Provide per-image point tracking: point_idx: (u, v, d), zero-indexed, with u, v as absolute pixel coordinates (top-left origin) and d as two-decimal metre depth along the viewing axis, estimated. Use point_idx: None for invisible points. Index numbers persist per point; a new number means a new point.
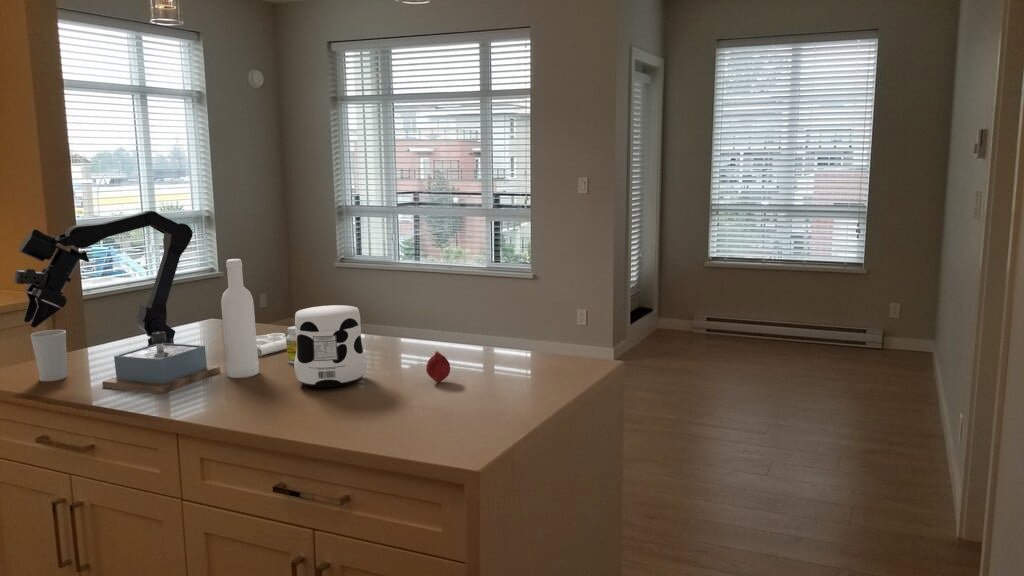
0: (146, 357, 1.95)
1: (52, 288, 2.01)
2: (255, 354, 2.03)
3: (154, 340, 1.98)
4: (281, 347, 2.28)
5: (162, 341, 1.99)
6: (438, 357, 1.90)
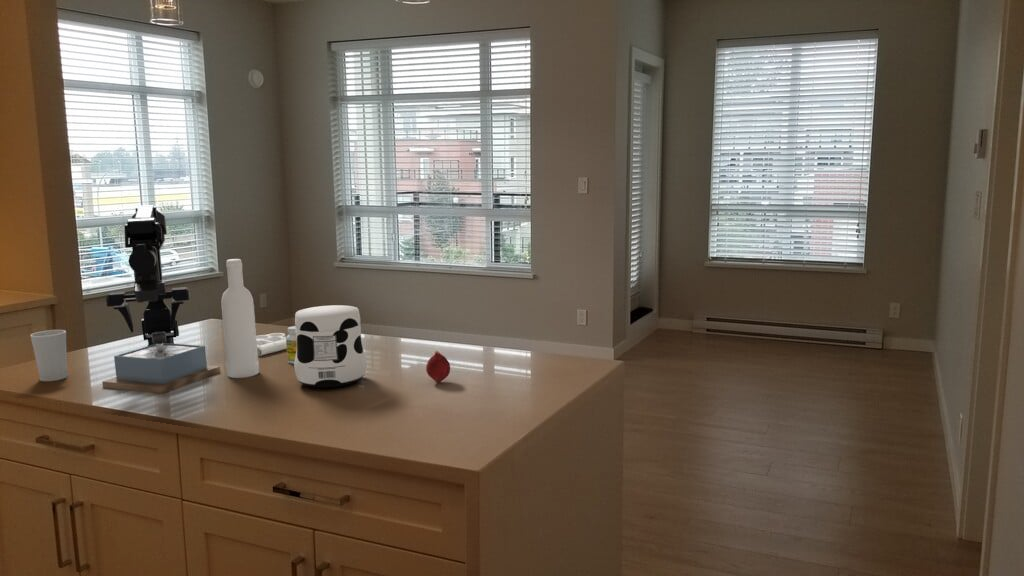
0: (146, 357, 1.95)
1: None
2: (255, 354, 2.03)
3: (154, 340, 1.98)
4: (281, 347, 2.28)
5: (162, 341, 1.99)
6: (438, 357, 1.90)
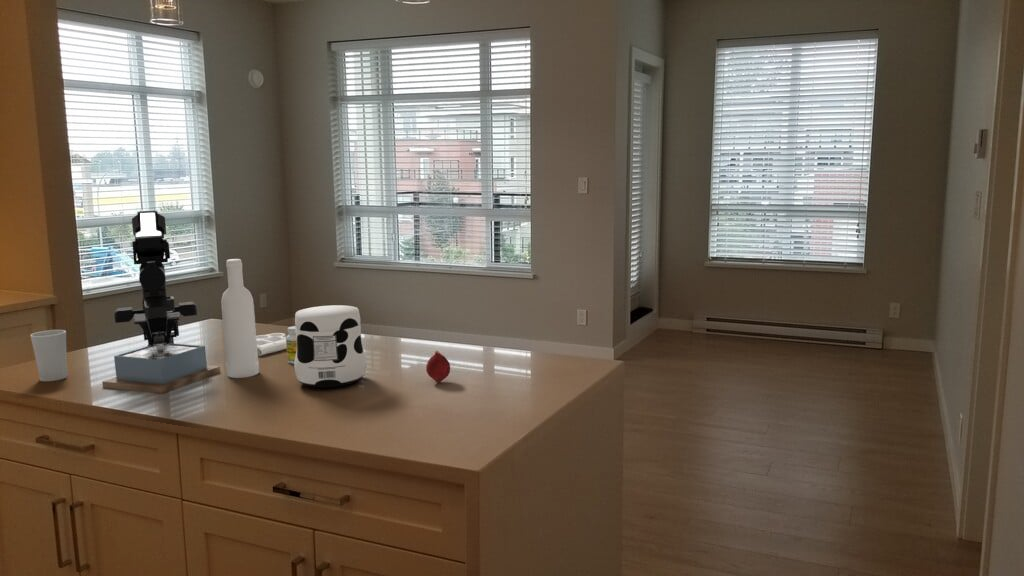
0: (146, 357, 1.95)
1: None
2: (255, 354, 2.03)
3: (154, 340, 1.98)
4: (281, 347, 2.28)
5: (162, 341, 1.99)
6: (438, 357, 1.90)
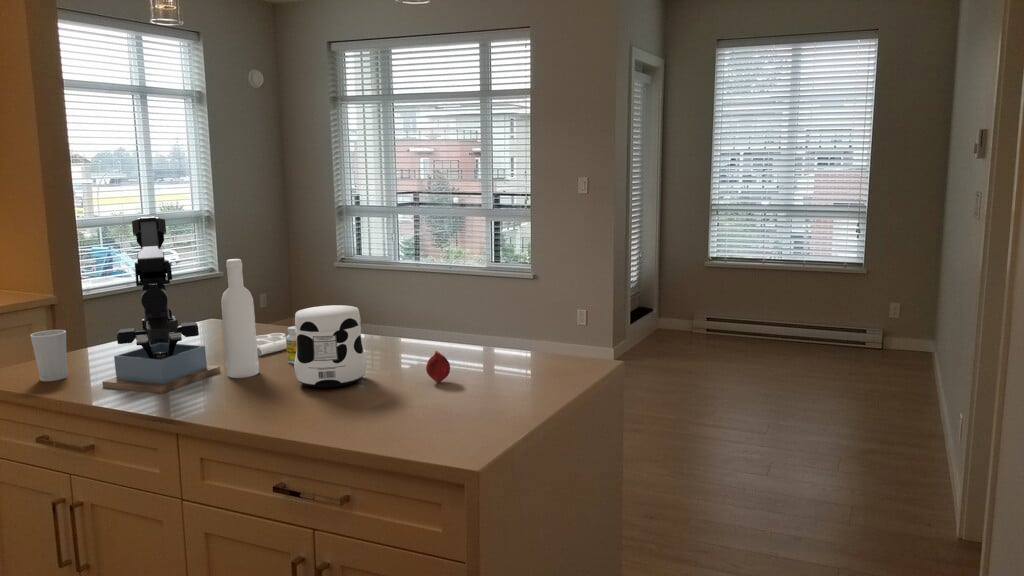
0: None
1: None
2: (255, 354, 2.03)
3: None
4: (281, 347, 2.28)
5: None
6: (437, 357, 1.90)
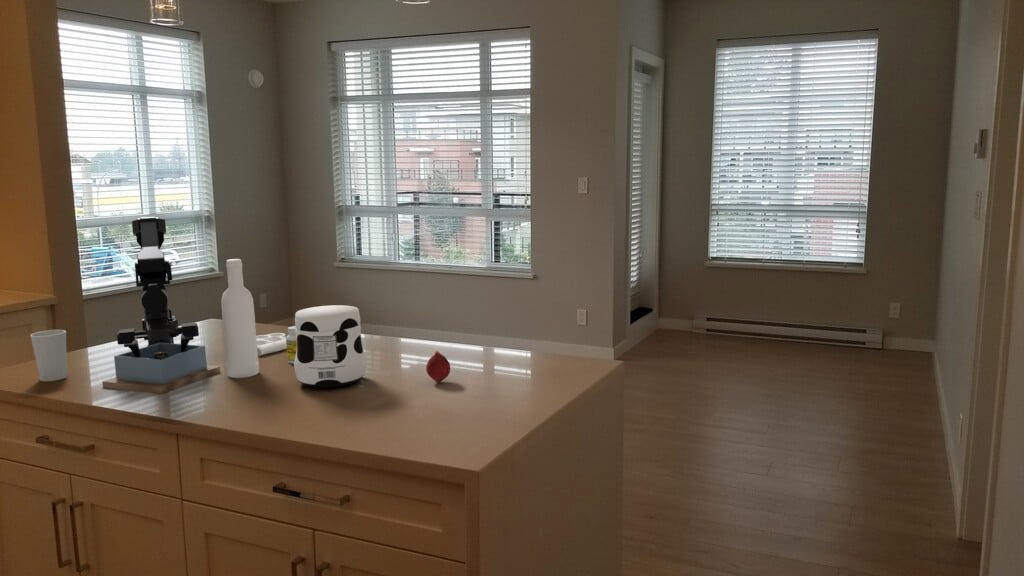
0: None
1: None
2: (255, 354, 2.03)
3: None
4: (280, 347, 2.28)
5: None
6: (438, 357, 1.90)
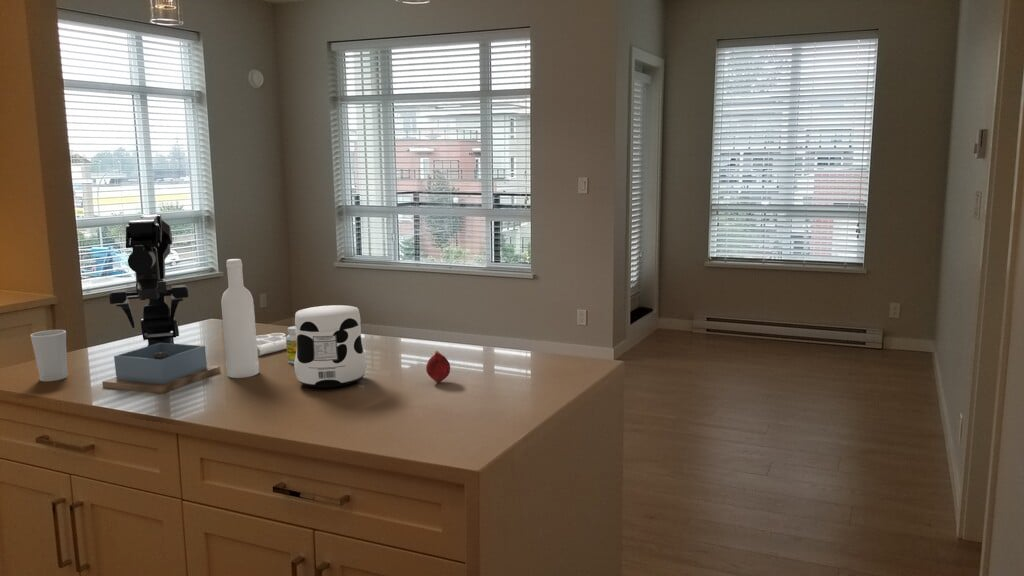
0: None
1: None
2: (255, 354, 2.03)
3: None
4: (280, 347, 2.28)
5: None
6: (438, 357, 1.90)
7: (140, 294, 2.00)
